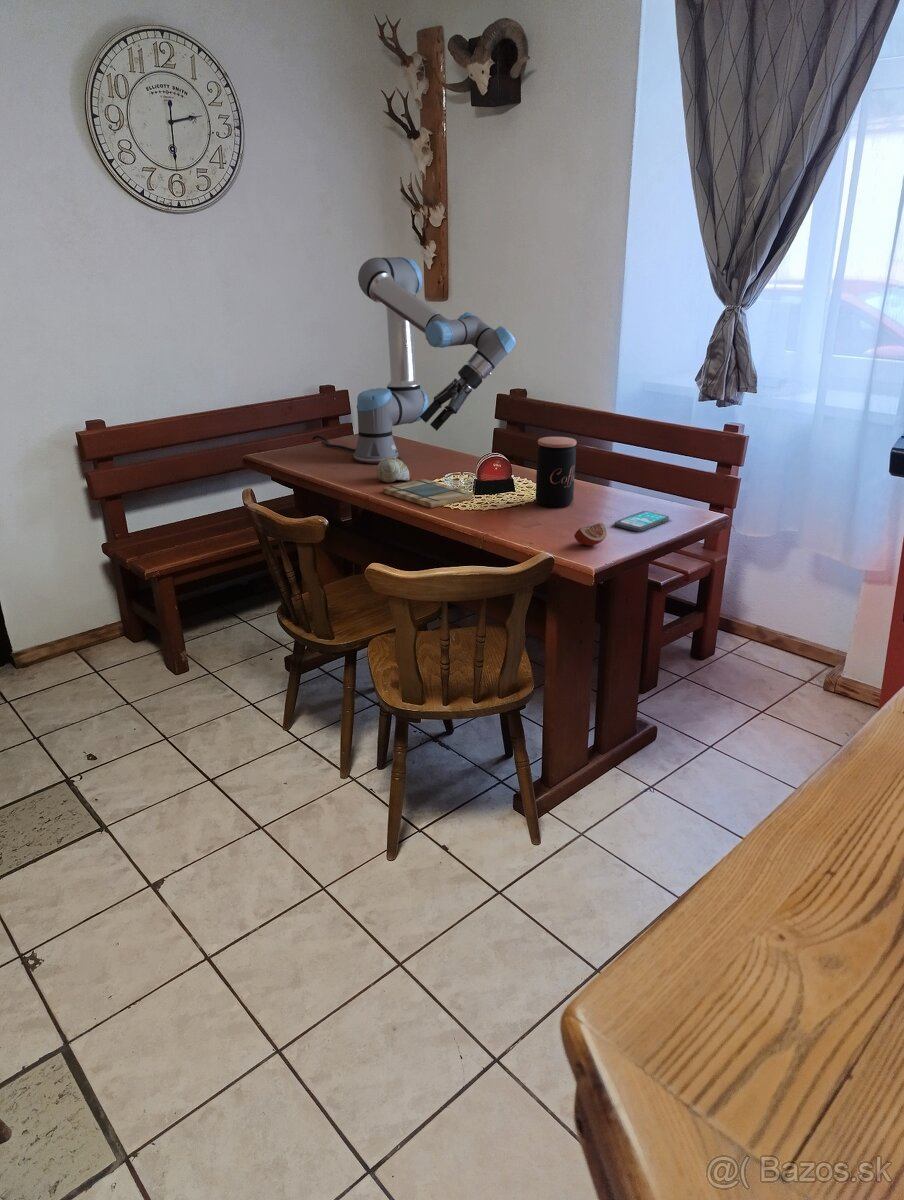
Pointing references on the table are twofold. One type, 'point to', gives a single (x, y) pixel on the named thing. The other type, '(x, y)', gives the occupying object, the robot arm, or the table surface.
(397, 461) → the seashell
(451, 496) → the board
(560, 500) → the coffee jar
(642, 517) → the smartphone
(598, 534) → the fruit slice
